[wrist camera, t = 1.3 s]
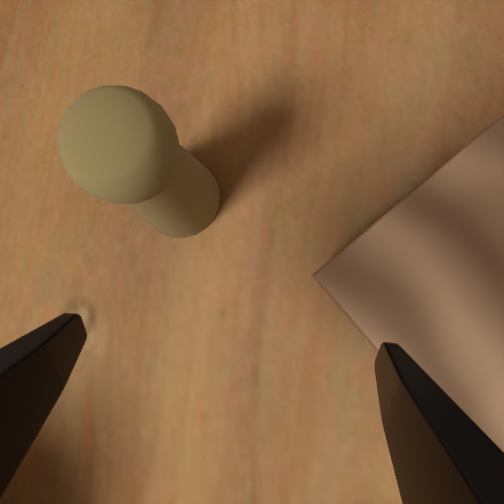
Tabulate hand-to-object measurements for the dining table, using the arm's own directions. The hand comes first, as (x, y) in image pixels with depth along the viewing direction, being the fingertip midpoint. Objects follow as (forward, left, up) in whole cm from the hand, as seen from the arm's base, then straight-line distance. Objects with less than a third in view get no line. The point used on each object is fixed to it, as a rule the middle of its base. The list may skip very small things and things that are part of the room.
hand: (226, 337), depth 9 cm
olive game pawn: (+1, +9, -14) cm, 17 cm away
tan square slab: (+12, -9, -13) cm, 20 cm away
